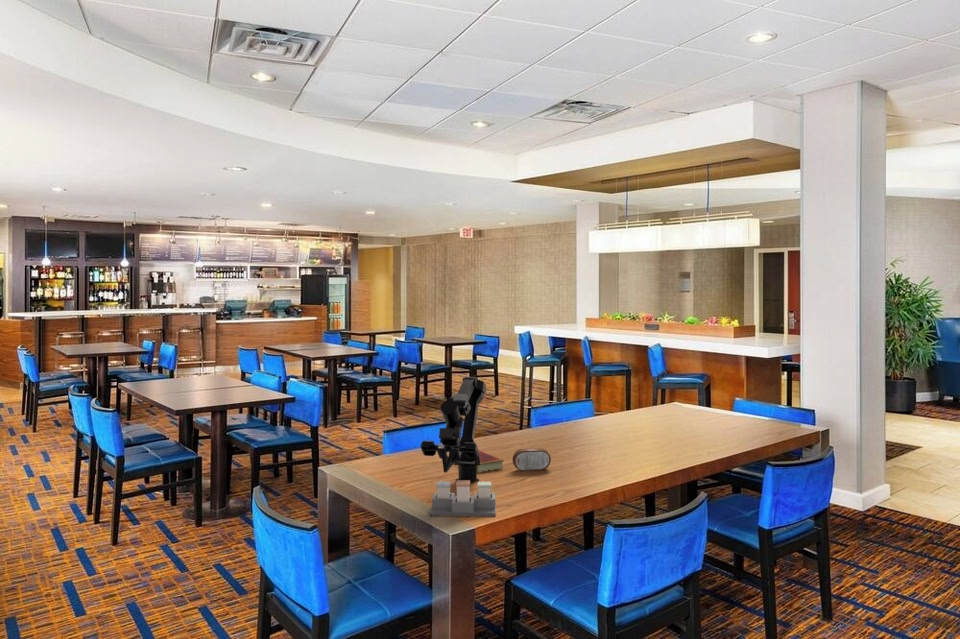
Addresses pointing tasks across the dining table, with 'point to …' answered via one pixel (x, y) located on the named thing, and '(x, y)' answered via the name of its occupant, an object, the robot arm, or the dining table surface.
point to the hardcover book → (488, 462)
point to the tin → (531, 459)
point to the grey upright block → (443, 489)
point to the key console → (463, 506)
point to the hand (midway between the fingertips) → (445, 471)
